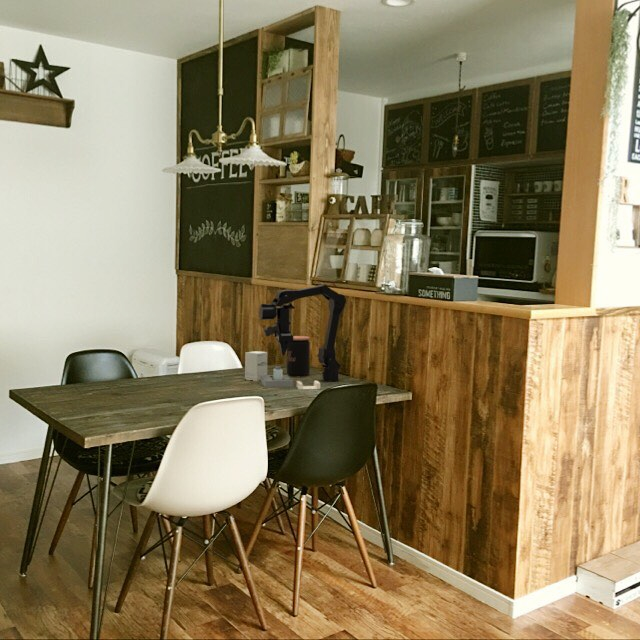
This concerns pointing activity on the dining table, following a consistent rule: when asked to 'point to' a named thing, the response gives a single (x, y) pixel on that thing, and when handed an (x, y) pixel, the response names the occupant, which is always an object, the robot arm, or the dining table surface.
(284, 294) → the robot arm
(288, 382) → the port panel
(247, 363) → the supplement box
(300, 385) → the holster
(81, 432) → the dining table surface
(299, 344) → the coffee jar
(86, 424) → the dining table surface
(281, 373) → the plug
